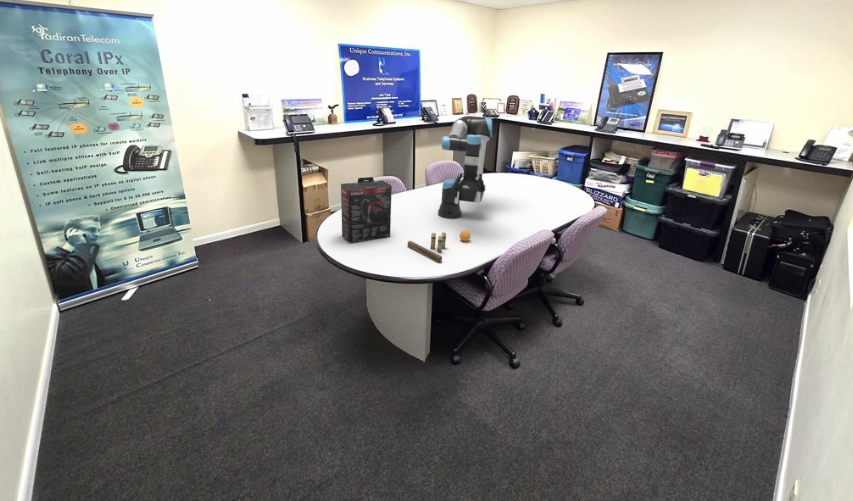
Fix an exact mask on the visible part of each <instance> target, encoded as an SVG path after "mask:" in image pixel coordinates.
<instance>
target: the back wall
mask: <svg viewBox="0 0 853 501" xmlns="http://www.w3.org/2000/svg"><path fill="white" fill-rule="evenodd" d="M407 248H409V249H411V250H412V251H414V252H416V253H419V254H421V255H423V256H424V257H427V258H428V259H429V260H430V259H431V261H434V262H436V263H438V264H439V263H440V264H441V263H442V262H443V256H442V255H440V254H438V253H437V252H434V251H432V250H431V249H430V250H429V249H428V248H426V247H424V246H422V245H420V244H418V243H416V242H415V241H412V240H408V241H407Z"/></svg>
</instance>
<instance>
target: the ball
mask: <svg viewBox="0 0 853 501" xmlns="http://www.w3.org/2000/svg"><path fill="white" fill-rule="evenodd" d="M471 236H472V235H471V233H470V231H468V230H466V229H465V230H462V231H461V232H460V233H459V238H460V240H461V241H463V242H468V241H469V240H470V239H471Z"/></svg>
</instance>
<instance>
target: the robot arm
mask: <svg viewBox="0 0 853 501" xmlns="http://www.w3.org/2000/svg"><path fill="white" fill-rule="evenodd" d="M464 135H465V136H467V137H464ZM492 137H493V119H492V118H491V117H486V116H473V115H472V116H471V115H465V116H462V117H459V118H458V119H456V120H455V121H454V122H453V124H452V126H451V130H450V133H449V134H448V135H447V136H446V135H445V136H442V138H441V149H442V150H444V151H452V152H462V153H463V152H464V153H465V156H464V162H463V163H464V165H463V173H462V172H458V174H457V177H456V178H447V179H445V180H444V181H443V182H442V188H441V201H440V205H439V208H438V210H437V216H439V217H441V218H445V219H458V218H461V216H462V210H461V206H460V203H461V202H460V201H462V202H471V203H475V204H477V205H480V203H481V202H482V201H483V197H484V194H485V191H486V187H487V186H486V185H487V184H485V183H484V180H483V173H484V163H485V157H486V149H487V142H488V141H490V138H492Z"/></svg>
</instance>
